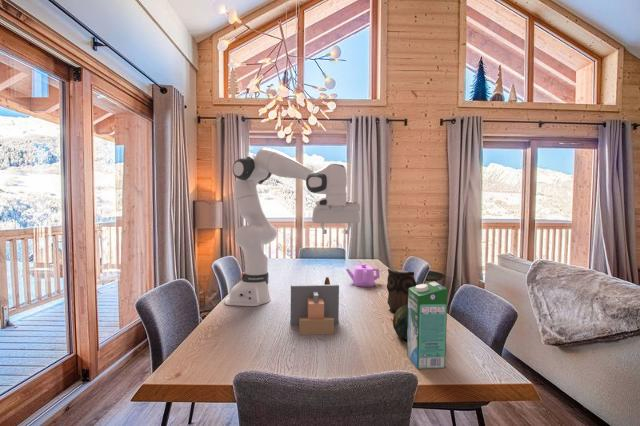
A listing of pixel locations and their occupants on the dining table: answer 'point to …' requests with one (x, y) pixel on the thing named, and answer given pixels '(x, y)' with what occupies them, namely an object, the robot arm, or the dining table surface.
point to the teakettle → (364, 275)
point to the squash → (401, 322)
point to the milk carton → (427, 325)
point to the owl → (399, 288)
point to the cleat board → (300, 308)
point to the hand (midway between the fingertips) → (335, 233)
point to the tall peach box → (315, 307)
